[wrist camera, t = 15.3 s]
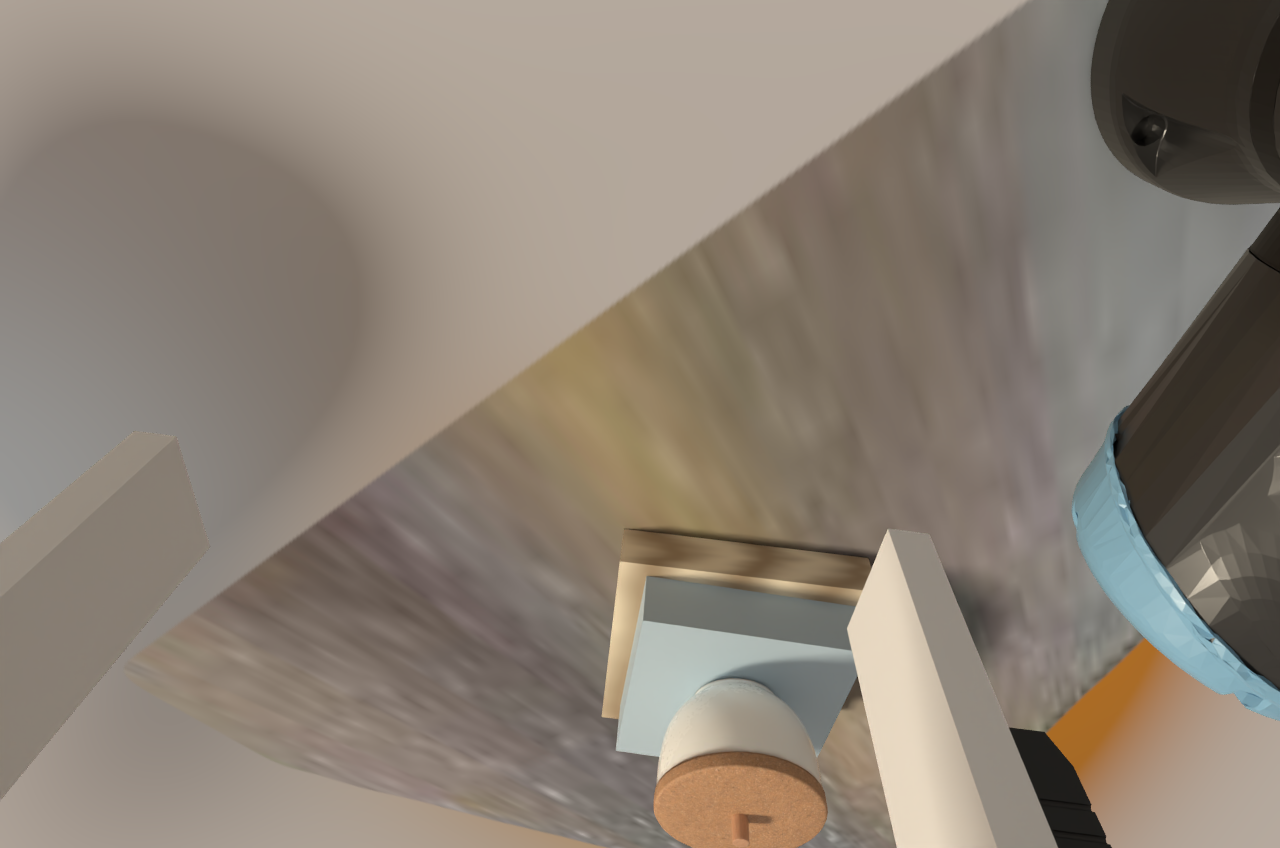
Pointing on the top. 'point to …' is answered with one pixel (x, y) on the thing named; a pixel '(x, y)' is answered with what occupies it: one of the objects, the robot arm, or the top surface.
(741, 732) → the lidded jar
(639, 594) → the tower base
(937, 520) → the top surface
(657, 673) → the tower top
